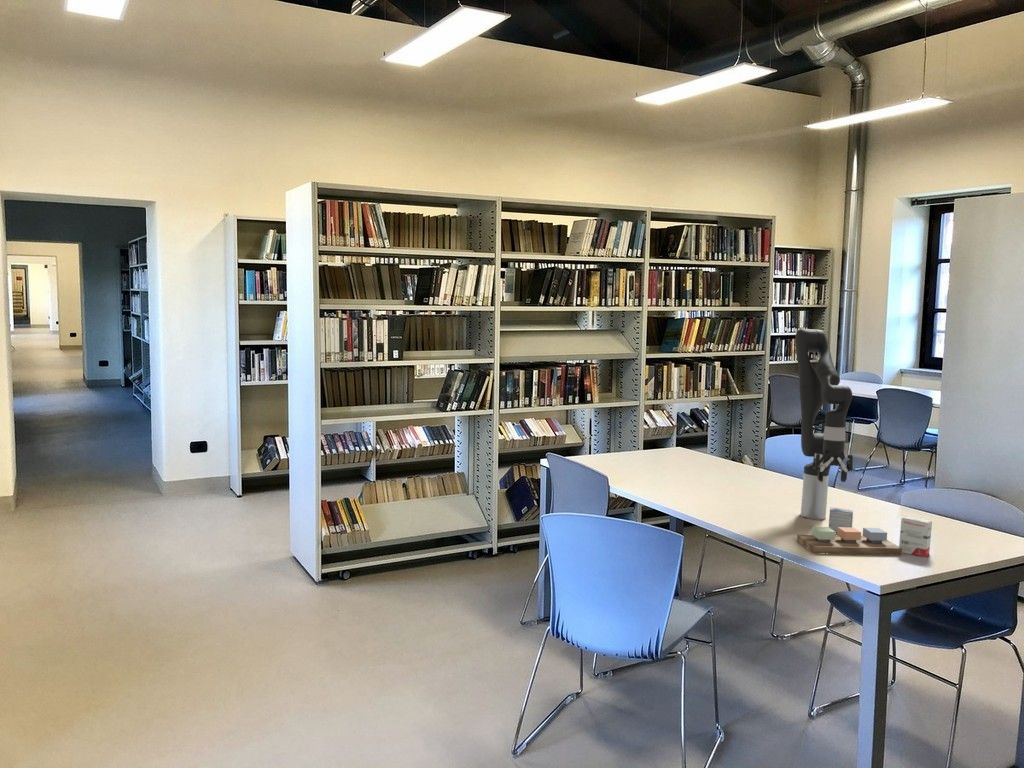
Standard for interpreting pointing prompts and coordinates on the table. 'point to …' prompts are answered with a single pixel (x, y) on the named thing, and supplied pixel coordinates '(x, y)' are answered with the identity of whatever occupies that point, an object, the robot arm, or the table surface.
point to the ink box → (915, 536)
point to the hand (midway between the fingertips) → (831, 481)
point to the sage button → (823, 533)
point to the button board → (849, 546)
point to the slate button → (875, 534)
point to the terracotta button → (849, 533)
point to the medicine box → (840, 518)
